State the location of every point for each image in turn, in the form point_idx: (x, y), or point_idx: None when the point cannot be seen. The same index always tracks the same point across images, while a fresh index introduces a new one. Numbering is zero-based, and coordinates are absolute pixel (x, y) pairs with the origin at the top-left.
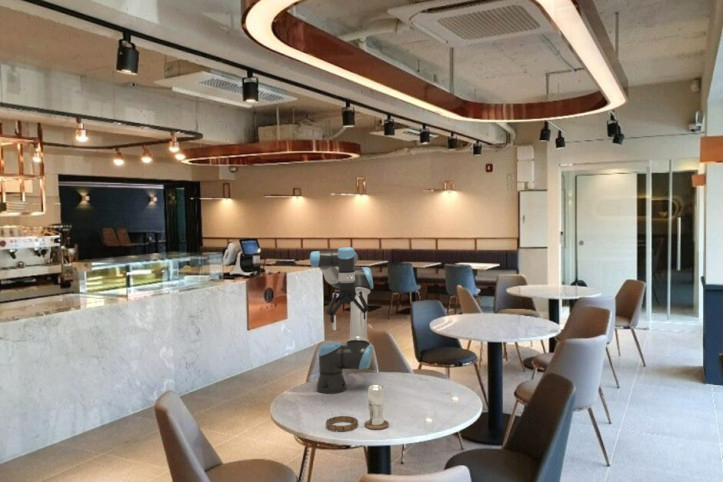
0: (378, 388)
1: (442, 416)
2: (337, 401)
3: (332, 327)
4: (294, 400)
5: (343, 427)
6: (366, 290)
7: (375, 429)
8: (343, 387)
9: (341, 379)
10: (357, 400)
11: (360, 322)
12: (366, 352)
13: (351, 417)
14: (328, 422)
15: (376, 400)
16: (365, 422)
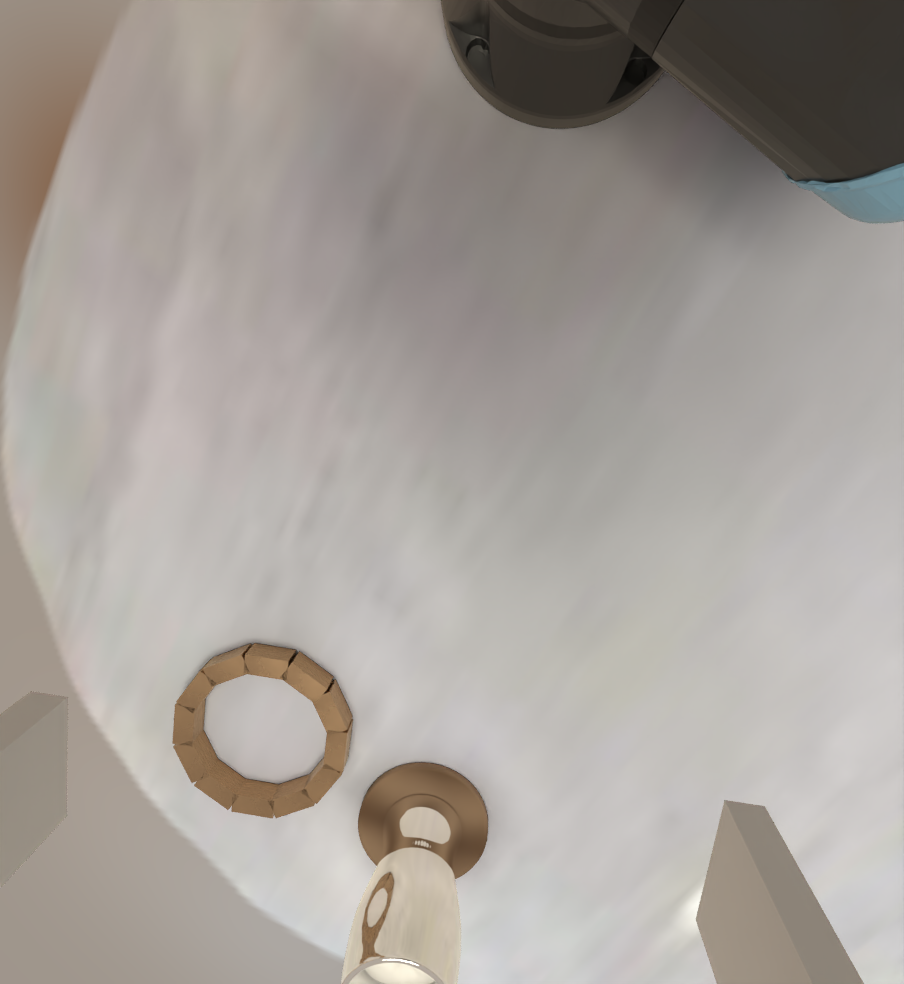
0: (441, 961)
1: None
2: (453, 318)
3: (1, 717)
4: (205, 105)
5: (233, 802)
6: None
7: None
8: (619, 105)
9: (624, 59)
10: (577, 382)
11: (750, 900)
12: None
13: (333, 718)
14: (189, 710)
15: (380, 981)
16: (379, 787)
